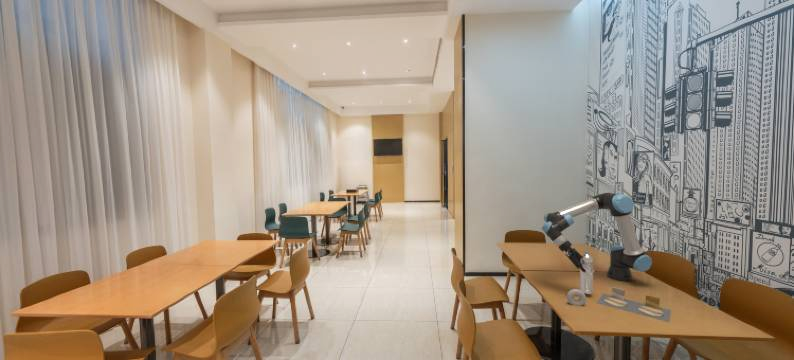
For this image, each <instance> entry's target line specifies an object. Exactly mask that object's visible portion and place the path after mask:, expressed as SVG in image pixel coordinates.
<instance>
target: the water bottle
mask: <svg viewBox="0 0 794 360" xmlns="http://www.w3.org/2000/svg"><path fill="white" fill-rule="evenodd" d="M589 253H590V252H589V251H585V253H584V254H581V258H580V260H581V264H582V266H584V267H585V268H586V269H587V270H588V271H589V272H590V273H591V274H592V275H591V276H589V277H587V276H586V275H585V274H584V273H583V272H582V271H581V269H580V268H579V272H580V273H579V290H581V291H582V292H583V293H584V294H585V295H586V294H587V295H591V294H592V293H593V291H594V290H593V289H594V287H593V286H594V273H593V270H594V258H593V257H592V256H591V254H589Z"/></svg>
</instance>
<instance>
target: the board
mask: <svg viewBox="0 0 794 360" xmlns="http://www.w3.org/2000/svg"><path fill="white" fill-rule="evenodd" d="M605 298H613V297H612V294H611V295H610V294H607V293H602V294H601V296H600V297H599V299H597V301H596V304H599V305H603V306H606V307H611V308H614V309H617V310H620V311H626V312H627V313H628V312H629V313H632V314H635V315H640V316H644V317H646V318H647V317H648V318H652V319H655V320H659V321H661V322H667V323H670V320H671V313H672V310H671V309H668V308H664V307H660V306H659V309H658V310H661V311H662V312H663V313H664V316H662V317H656V316H650V315H647V314H644V313H642V312H640V311H639V310H638V307H640V306H645V303H643V302H640V301H635V300H630V299H628V298H624V300H623V301H625V302H626V303H627V306H626V307H617V306H613V305H610V304H607V303H606V302H605V301H604V299H605ZM616 299H617V298H616ZM620 300H621V299H620ZM648 307H649V306H648ZM652 308H653V307H652ZM656 309H657V308H656Z"/></svg>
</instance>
